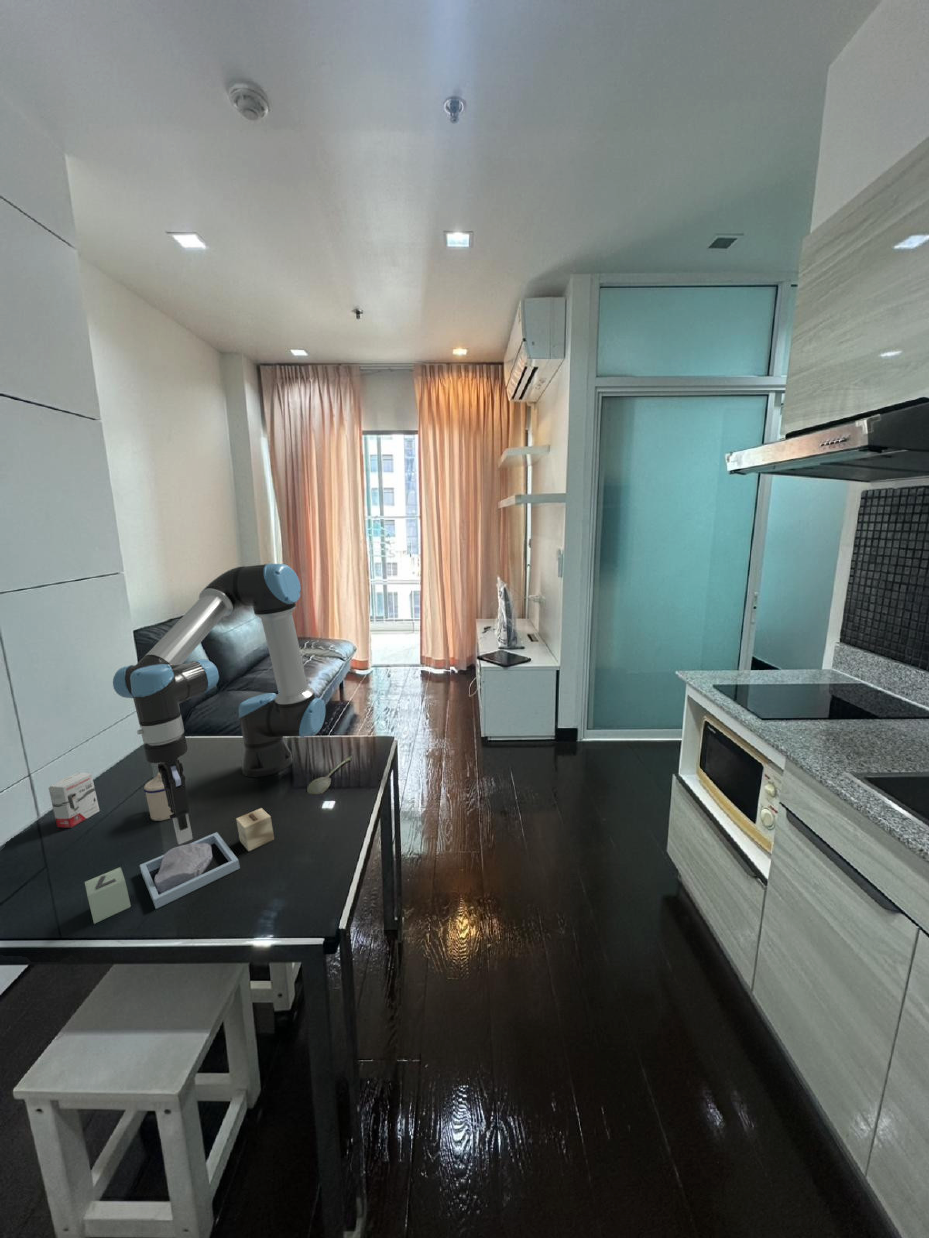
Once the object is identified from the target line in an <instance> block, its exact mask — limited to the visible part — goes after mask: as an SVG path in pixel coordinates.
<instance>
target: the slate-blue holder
mask: <svg viewBox="0 0 929 1238" xmlns="http://www.w3.org/2000/svg"><path fill="white" fill-rule="evenodd" d="M196 843H206V844H209V845H210V846H212V845H216V847H217V848H218V849H219V851H220V852H221V853H222V855H223V856H224V857H225V859H226V860H227V861H228V862H225V863H223V864H221V865H220V866H217V867H215V868H213V869H211V870H209V871H207V872H203V873H202V875H200V876H198V877H196V878H194V879H191V880H189V881H187V882H185V883H183V884H181V885H179V886H177V887H174V888H172V889H170V890H168V891H166V892H164V893H162V894H160V893H159V892H157V890H156V887H155V882H154V880H153V878H152V876H151V874H150V872H153V871H155V870H157V869H160V867H161V862H162V859H163V857H164V855H165V854H162V855H160V856H158V857H156V858H153V859H151V860H148V861H146V862H144V863H141V864H139V869H140V873H141V875H142V878H143V880H144V883H145V885H146V888H147V890H148V892H149V895H150V898H151V900H152V902H153V905H154V908H155V910H157V909H159V908H161V907H163V906H165V905H167V904H169V903H172V902H174V901H176V900H178V899H180V898H181V897H184V896H186V895H189V894H190V893H192V892H194V891H196V890H198V889H200V888H203V887H204V886H206V885H208V884H210V883H212V882H215V881H216V880H219V879H221V878H222V877H225V876H227V875H229V874H231V873H234V872H235V871H237V870H239V869H241V866H240V862H239V861H240V860H239V859H238V857H237V856H236V855H235V854H234V852H233V850H231V848H230V847H229V846H228V844H227V843H226V842H225V840H224V839H223V838H222V837H221V835H220V834H219V833H218V832H217V831H216V832H214V833H212V834H209V835H206V836H204V837H202V838H200V839H197V840H195V841H193V842H190V843H189V844H196Z"/></svg>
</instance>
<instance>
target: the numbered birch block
mask: <svg viewBox="0 0 929 1238" xmlns="http://www.w3.org/2000/svg"><path fill="white" fill-rule="evenodd" d="M271 817H272V816H271V815H270V814H268V813H267V811H265V810H264V809H263V808H262V807H260V808H258V809H256V810H254V811H253V810H252V811H251V812H248V813H246V814H243V815H241V816H239V817H236V818H235V820H236V826H237V827H236V828H237V832H238V837H239V843H241V844H242V845H243V847H244V848H245V849H246V850H247V851H248V852H250V851H253V850H255V849H257V848H259V847H261V846H263V845H266V844H267V843H269V842H271V841H274V840H275V834H274V829H273V823H272V818H271Z"/></svg>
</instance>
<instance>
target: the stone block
mask: <svg viewBox="0 0 929 1238" xmlns="http://www.w3.org/2000/svg"><path fill="white" fill-rule="evenodd" d="M212 850H213V849H212V845H209V844H206V843H196V844H190V843H188V844H184V845H183V844H180V845H179V846H176V847H173V848H171V849H169V850H167V852H166V853H165V855H164V854H163V855H164V857H163V859H162V862H161V867H160V868H159V870H158V872H157V873H156V874H155V876H154V880H153V883H154V885H155V887H156V890H157V892H158V894H159V895H160V894H162V893H164V892H166V891H168V890H170V889H172V888H174V887H177V886H179V885H181V884H183V883H185V882H187V881H189V880H191V879H194V878H196V877H198V876H200V875H202V874H204V873H205V871H206V870H207V869H208V866H209V865H210V864H211V862H212V860H213V851H212Z"/></svg>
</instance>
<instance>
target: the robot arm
mask: <svg viewBox="0 0 929 1238" xmlns="http://www.w3.org/2000/svg"><path fill="white" fill-rule="evenodd" d="M301 589H302V587H301V582H300V579H299V576H298V575H297V573H296V572H295V570H294V569H293V568H291V567H290V566H289V565H287V564H286V563H285V564H284V563H264V564H256V565H247V566H245V565H244V566H237V567H233V568H231V569H229V570H227V571H224V572H223V573H221V574H220V575H219V576H217V577H216V578H214V579H213V580H212V581H211V582H210V583H209V584H207V585H206V586H205V587H204V588H203V589H202V590H201V592H200V593H199V595H198V600H197V601H196V602H195V603H194V604H193V605H192V606H191V607H190V608H189V610H187V611H186V612H185V613H184V615H183V616H182V617H181V618H180V619H179V620H178V621H177V622H176V623H175V624H174V625H173V626H172V627H171V628H170V629H169V630H168V631H167V633H165V634H164V636H163V637H162V638H161V639H159V641H158V642H156V643H155V645H154V646H153V647H152V648H151V649H150V650H149V651H148V652H147V653H146V654H145V655H144V656H143V658H141V659H140V660H139V661H138V662H137V663H136V664H131V665H130V664H129V665H127V666H123V667H121V668H119V669H118V670H117V671H116V672H115V674H114V676H113V678H112V687H113V690H114V691H115V693H116V694H117V695H118V696H120V697H121V698H127V699H133V702H134V707H135V712H136V714H137V715H136V716H137V720H138V723H139V729H138V730H137V731H136V732H137V735H141V738H142V742H143V744H144V743H145V744H144V746H143V749H144V753H145V754H144V755H145V758H146V761H147V762H148V763H151V764H158V765H157V771H158V773H160V774H161V779H162V783H163V785H164V789H165V793H166V797H167V801H168V806H169V808H171V809H170V811H171V812H172V813H173V814H172V815H170V820H172V821H173V822H172V823H173V828H174V832H175V837H176V842H177V843H178V845H179V846H181V845H183V844H184V843H186V842H188V841H191V840H193V832H192V827H191V823H190V817H189V814H190V807H189V802H188V795H187V789H186V788H187V787H186V776H185V775H184V773H183V772H184V767H183V764H182V762H180V760H179V758H180V757H182V756H184V755H185V754H186V753H187V751H188V744H187V738H186V735H184V733H185V729H184V728H185V727H184V723H183V718H182V712H181V709H180V704H182V703H183V702H186V701H188V700H190V699H192V698H195V697H197V696H199V695H201V694H205V693H207V692H208V691H210V690H212V689H214V687H215V686H216V685H217V684H218V682H219V680H220V675H219V670H218V668H217V666H216V665H215V664H214V663H213V662H212V661H210V660H208V659H205V658H201V659H197V660H192V661H190V662H187V663H184V662H185V661H186V660H187V659H188V658H189V657H190V656H191V654H192V653H193V652H194V651H195V650H196V649H197V647H198V646H199V645H201V643H202V642H203V641H204V640H205V638H206V637H207V636H208V635H209V633H210V632H211V631H212V630H213V629H214V628H215V626H216V625H217V624H218V623H219V622H220V621H221V619H223V618H225V617H228V616H230V615H231V614H232V613H233V611H235V610H236V609H240V608H242V607H252V609H253V613H254V615H255V617H256V616H257V617H258V618H260V619H261V622H262V626H263V632H264V635H265V640H266V643H267V644H266V645H267V649H268V653H269V657H270V661H271V666H272V670H273V675H274V679H275V683H276V688H277V692H278V694H276V693H274V692H268V693H264V694H263V693H262V694H259V695H255V696H253V697H250V698H248V699H246V700H244V701H242V702H241V703H240V704H239V705H238V718H239V724H240V729H241V736H242V738H243V739H242V740H243V745H244V751H243V755H242V756H243V757H242V761H241V771H242V774H243V775H244V776H246V777H248V778H249V777H250V778H258V777H267V776H270V775H273V774H277V773H280V772H281V771H283V770H285V769H287V768H288V767H289V766H290V765H292V763H293V754H292V752H291V750H290V749H289V746H288V744H287V743H286V741H285V739H284V737H288V738H291V737H292V738H294V737H295V738H297V737H299V738H305V737H313V736H315V735H317V734H318V733H319V732H320V731H321V729H322V727H323V725H324V722H325V717H326V704H325V701H324V700H323V699H322V698H319V697H316V696H315V695H316V694H315V691H314V689H313V688H312V687H310V686H308V683H307V678H306V673H305V668H304V663H303V659H302V655H301V649H300V645H299V644H300V643H299V639H298V635H297V630H296V624H295V621H294V616H293V612H294V610H295V609H296V608H297V605H296V603H297V602H298V601H299V600H300V597H301V593H300V592H301V591H302V590H301Z"/></svg>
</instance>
